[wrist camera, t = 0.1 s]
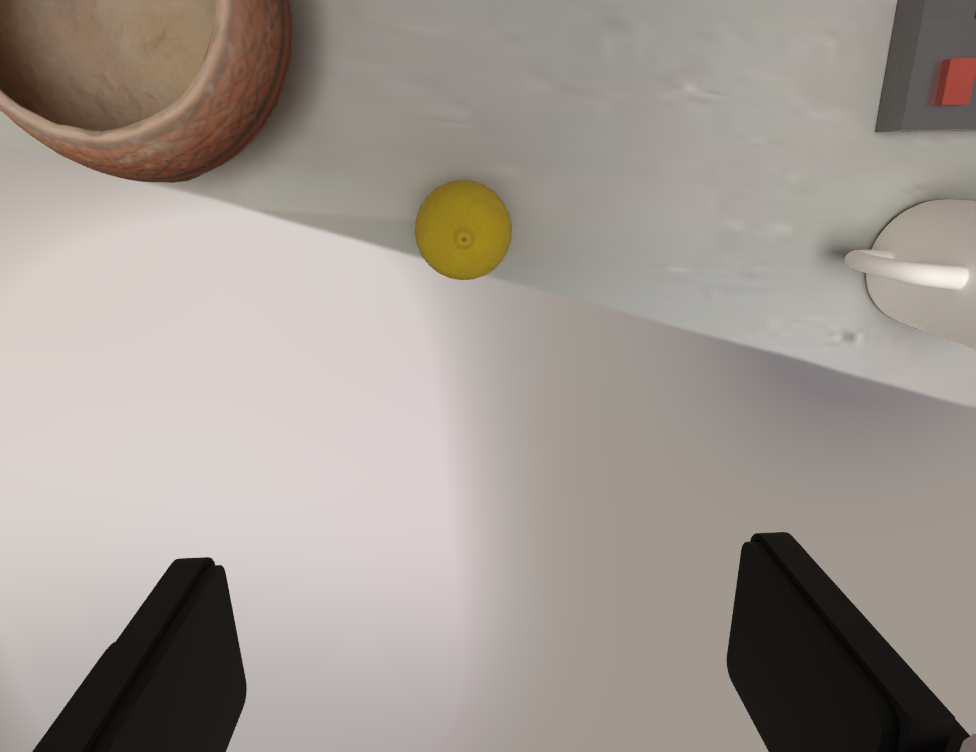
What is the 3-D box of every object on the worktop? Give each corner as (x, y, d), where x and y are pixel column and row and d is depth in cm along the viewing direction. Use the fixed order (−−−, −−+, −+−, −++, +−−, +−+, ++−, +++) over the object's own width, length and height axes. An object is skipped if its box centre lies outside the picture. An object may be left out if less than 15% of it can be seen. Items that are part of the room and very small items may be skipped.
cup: (958, 326, 43) (1101, 373, 34) (794, 311, 42) (893, 355, 33) (1001, 204, 40) (1170, 217, 31) (828, 185, 40) (946, 193, 30)
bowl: (152, -211, 31) (21, -371, 22) (371, 48, 36) (341, 7, 26) (-30, 18, 34) (-214, -37, 25) (194, 231, 39) (109, 254, 29)
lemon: (402, 234, 39) (389, 251, 32) (452, 160, 38) (451, 159, 30) (472, 284, 40) (476, 312, 33) (523, 214, 39) (539, 226, 32)
